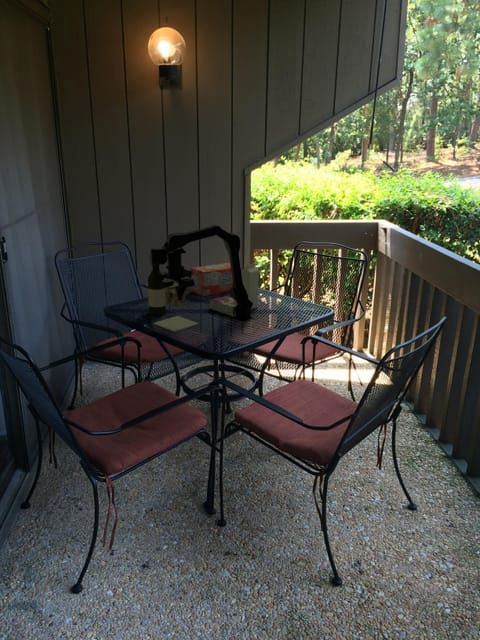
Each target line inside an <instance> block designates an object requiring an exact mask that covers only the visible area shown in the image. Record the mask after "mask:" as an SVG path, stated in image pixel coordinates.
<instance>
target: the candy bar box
mask: <svg viewBox="0 0 480 640" xmlns="http://www.w3.org/2000/svg"><path fill="white" fill-rule="evenodd" d="M236 307H237V303H236V301H235V300H234V299H233V298H232V297H231V296H227V295H224V296H221V297H216V298H212V299H210V300H209V309H210V310H212V311H216V312H218V313H221V314H224V315H227V316H231V317H233V318H234V317H235V316H236Z"/></svg>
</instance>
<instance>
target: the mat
mask: <svg viewBox="0 0 480 640" xmlns="http://www.w3.org/2000/svg"><path fill="white" fill-rule="evenodd" d="M152 325H155V326H157V327H160V328H162V329H164V330H167V331H170V332H172V333H176V332H180V331H183V330H186V329H188V328H189V329H190V328H191V327H195V326H199V323H198V322H196V321H192V320H190V319H187V318H184V317H182V316H179V315H176V316H173V317H169V318H166V319H162V320H159V321H156V322H153V324H152Z"/></svg>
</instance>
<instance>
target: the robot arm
mask: <svg viewBox="0 0 480 640" xmlns="http://www.w3.org/2000/svg"><path fill="white" fill-rule="evenodd" d="M215 236H217V237H218V238H220V239H221V240H223V241H222V242H223V245H224V247H225V249H226V252H227V254H228V259H229V263H230V266H231V272H232V279H233V287H232V288H230V296H229V297H231V298H233V299H234V300H235V301H236V303H237V307H236V316H234V317H233V319H236V320H239V321H242V322H246V321H248V320H251V318H252V319H253V318H254V317H253V316H252V309H251V308H252V305H253V303H252V302H251V301H250V300H249V299H248V295H247V292H246V289H245V287H244V285H243V280H242V273H241V266H242V265H241V261H240V250H241V237H240V236H238V235H237V234H236V233H233V232H228V231H226V230H225V229H223V228H222V227H221V226H219V225H217V224H212V225H210V226H207V227H203V228H199V229H196V230H191V231H187V232H172V233H169V234H168V235H167V236H166V241H165V242H164V244H163V245H162V246H161V248H154V247H153V248H150V251H149V263H150V265H151V266H152V265H159V266H161V265H165V264H166V263H167V265H166V266H165V268H166V270H167V271H163V272H161V273H158V275H157V280H159V281H162V282H161V283H162V284H163V286H164V287H169V286H173V285H174V284H175V283H177V285H178V286H175V287H176V291H177V295H178V299H179V301H178V302H180V301H181V300H182V297H183V294H184V291H185V292H186V290H187V288H190V287H191V286H194V280H193V279H190V278H191V277H192V273H193V271H190V270H189V269H185V266H184V265H183V263H182V261H183V259H182V258H183V257H182V255H183V254H186V253H187V251H186V250H184V247H186V246H187V245H188V244H190V243H192V242H196V241H200V240H203V239H207V238H210V237H215ZM171 299H172V293H171Z"/></svg>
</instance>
